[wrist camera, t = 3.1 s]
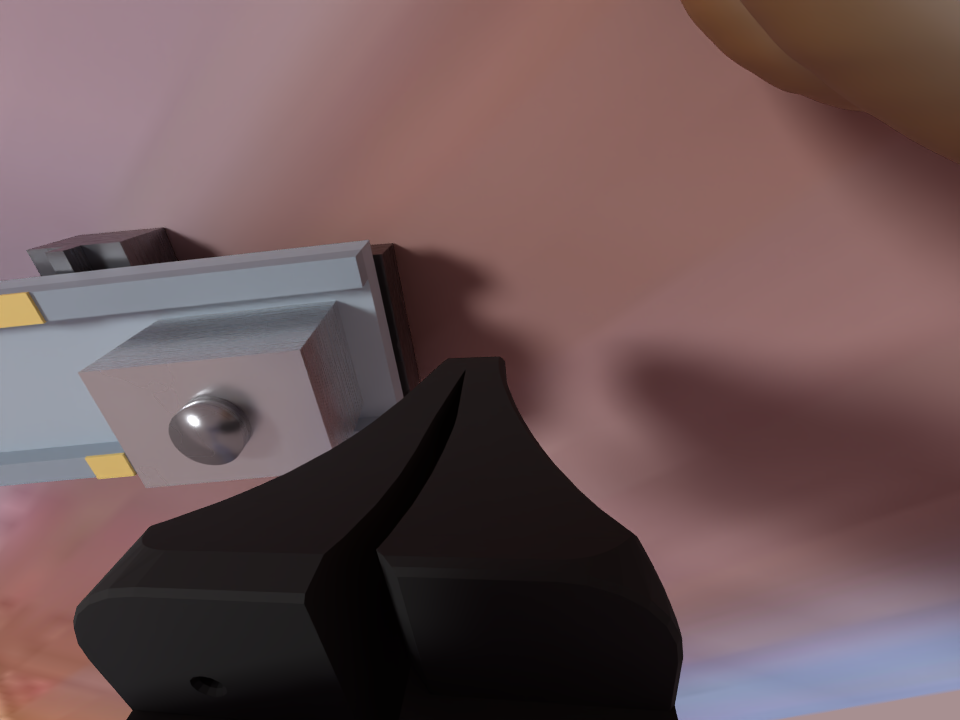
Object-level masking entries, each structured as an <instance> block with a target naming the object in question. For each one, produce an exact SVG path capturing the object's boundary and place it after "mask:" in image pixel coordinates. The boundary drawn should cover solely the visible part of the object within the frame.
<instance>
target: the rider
mask: <svg viewBox="0 0 960 720" xmlns="http://www.w3.org/2000/svg"><path fill="white" fill-rule="evenodd" d="M78 374H79V376H80V377H81V379H82V381H83V383H84V384H85V386H86V388H87V389H88V391H89V393H90V394H91V396H92V398H93V399H94V401H95V403H96V404H97V406H98V408H99V409H100V411H101V413H102V415H103V416H104V418H105V420H106V421H107V423H108V425H109V426H110V428H111V430H112V431H113V433H114V435H115V436H116V438H117V440H118V442H119V443H120V445H121V447H122V448H123V450H124V452H125V453H126V455H127V457H128V458H129V460H130V462H131V463H132V465H133V467H134V468H135V470H136V472H137V474H138V475H139V477H140V479H141V480H142V482H143V484H144V485H145V487H146V488H153V487H164V486H175V485H186V484H197V483H208V482H219V481H229V480H240V479H251V478H262V477H273V476H281V475H284V474H286V473H288V472H290V471H292V470H293V469H295V468H297V467H299V466H301V465H303V464H305V463H307V462H308V461H310V460H312V459H314V458H316V457H318V456H320V455H321V454H323V453H325V452H327V451H329V450H331V449H332V448H334V447H336V446H337V445H339V444H341V443H342V442H344V441H345V440H347V439H348V438H350V437H352V435H353V432H354V429H355V427H356V424H357V421H358V419H359V416H360V414H361V411H362V408H363V406H364V402H363V398H362V394H361V391H360V387H359V383H358V380H357V376H356V372H355V368H354V365H353V361H352V357H351V354H350V350H349V346H348V342H347V339H346V335H345V331H344V327H343V324H342V320H341V316H340V313H339V309H338V305H337V301H336V300H335V301H325V302H316V303H307V304H297V305H288V306H278V307H269V308H260V309H250V310H241V311H231V312H222V313H212V314H203V315H194V316H184V317H175V318H165V319H159V320H157V321H156V322H154V323H153V324H151V325H149V326H148V327H146V328H145V329H143V330H142V331H140V332H139V333H137V334H136V335H134V336H133V337H131V338H130V339H128V340H127V341H125V342H124V343H122V344H121V345H119V346H118V347H116V348H115V349H113V350H111V351H110V352H108V353H107V354H105V355H104V356H102V357H101V358H99V359H98V360H96V361H95V362H93V363H92V364H90V365H89V366H87V367H86V368H84V369H83V370H81V371H80V372H78Z"/></svg>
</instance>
